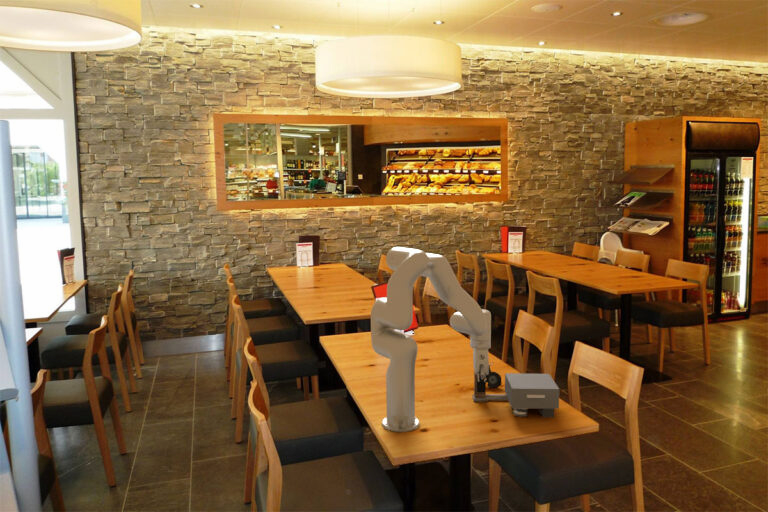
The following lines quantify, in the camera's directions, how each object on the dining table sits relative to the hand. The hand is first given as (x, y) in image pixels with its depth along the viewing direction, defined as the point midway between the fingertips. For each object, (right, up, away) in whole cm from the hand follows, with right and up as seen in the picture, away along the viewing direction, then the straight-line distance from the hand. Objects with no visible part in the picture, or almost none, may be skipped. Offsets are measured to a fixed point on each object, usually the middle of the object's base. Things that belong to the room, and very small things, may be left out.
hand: (479, 387), depth 223 cm
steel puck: (+12, -7, -13) cm, 19 cm away
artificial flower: (+7, -2, +24) cm, 25 cm away
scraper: (+8, -5, 0) cm, 9 cm away
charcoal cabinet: (+16, -6, -10) cm, 20 cm away
